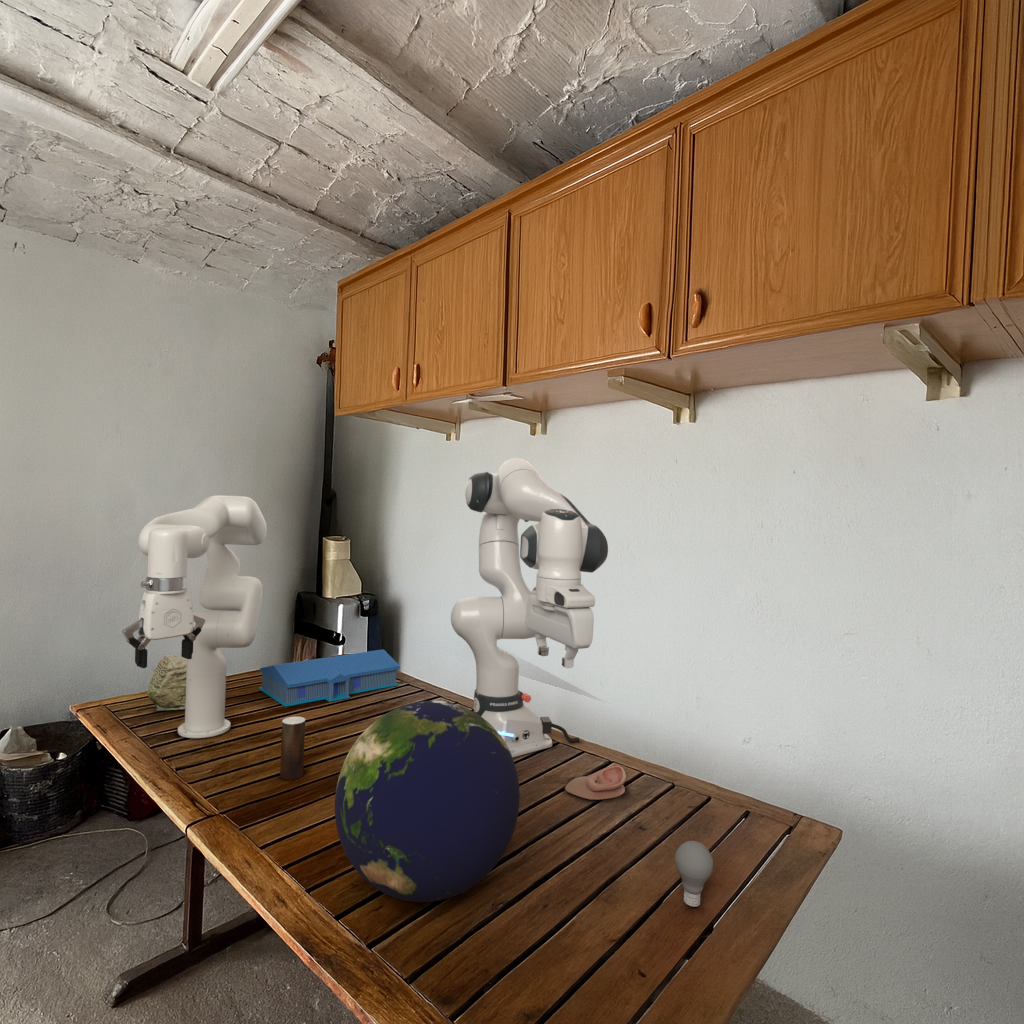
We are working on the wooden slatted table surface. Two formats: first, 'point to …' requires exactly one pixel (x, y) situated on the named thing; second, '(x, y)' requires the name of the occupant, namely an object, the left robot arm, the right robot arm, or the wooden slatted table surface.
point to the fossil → (169, 683)
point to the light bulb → (693, 869)
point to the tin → (292, 748)
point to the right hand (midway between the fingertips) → (554, 661)
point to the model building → (329, 677)
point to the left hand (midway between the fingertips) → (164, 662)
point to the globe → (427, 801)
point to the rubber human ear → (599, 784)
